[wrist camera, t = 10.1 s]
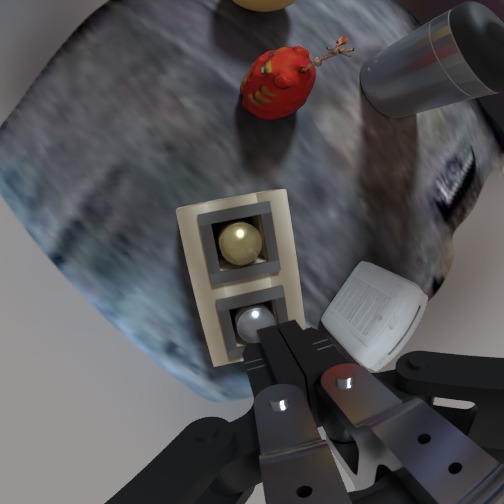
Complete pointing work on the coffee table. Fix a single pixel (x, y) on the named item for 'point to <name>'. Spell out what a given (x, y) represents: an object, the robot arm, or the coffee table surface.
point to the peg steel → (252, 320)
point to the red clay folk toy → (282, 80)
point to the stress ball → (264, 4)
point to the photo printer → (374, 314)
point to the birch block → (241, 268)
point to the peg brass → (238, 241)
